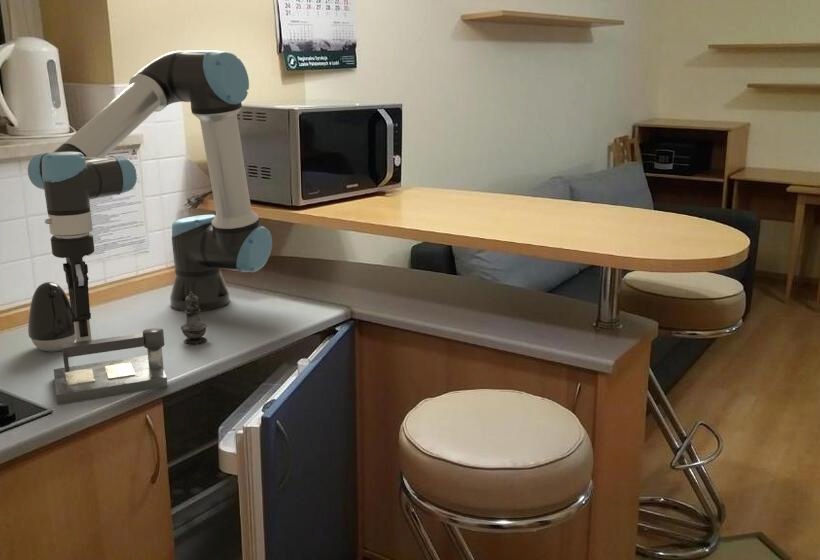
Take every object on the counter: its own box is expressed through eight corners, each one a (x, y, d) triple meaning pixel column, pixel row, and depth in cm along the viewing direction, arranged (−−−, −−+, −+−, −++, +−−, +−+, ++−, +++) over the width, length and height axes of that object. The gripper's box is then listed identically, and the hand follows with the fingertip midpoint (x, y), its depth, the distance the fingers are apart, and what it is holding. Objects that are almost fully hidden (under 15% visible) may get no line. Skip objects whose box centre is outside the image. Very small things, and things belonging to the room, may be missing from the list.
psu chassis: (158, 362, 168) (156, 335, 167) (169, 386, 156) (167, 356, 155) (54, 378, 160) (50, 349, 158) (57, 404, 148) (53, 374, 146)
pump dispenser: (36, 359, 170) (27, 292, 166) (26, 345, 178) (17, 280, 174) (85, 349, 176) (78, 284, 172) (73, 336, 184) (66, 273, 180)
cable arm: (163, 352, 163) (161, 326, 162) (167, 358, 160) (164, 332, 158) (64, 366, 155) (61, 340, 154) (65, 373, 152) (62, 347, 150)
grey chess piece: (182, 346, 178) (177, 295, 174) (181, 338, 183) (177, 288, 180) (208, 344, 179) (205, 293, 176) (207, 335, 185) (204, 286, 181)
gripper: (46, 230, 154) (60, 343, 161) (54, 243, 143) (69, 364, 150) (86, 226, 158) (99, 337, 164) (98, 238, 147) (110, 357, 153)
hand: (84, 350), depth 157 cm, fingers closed
